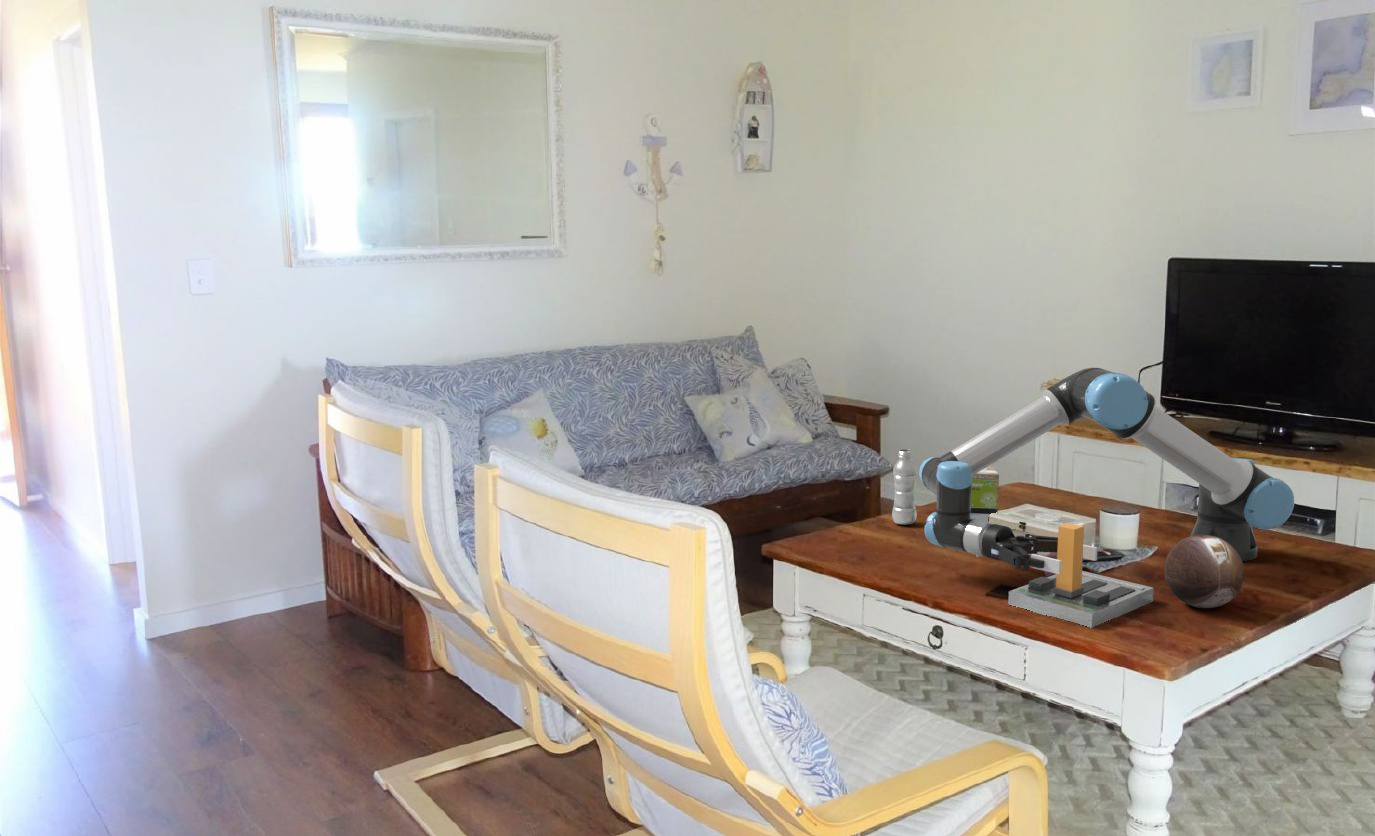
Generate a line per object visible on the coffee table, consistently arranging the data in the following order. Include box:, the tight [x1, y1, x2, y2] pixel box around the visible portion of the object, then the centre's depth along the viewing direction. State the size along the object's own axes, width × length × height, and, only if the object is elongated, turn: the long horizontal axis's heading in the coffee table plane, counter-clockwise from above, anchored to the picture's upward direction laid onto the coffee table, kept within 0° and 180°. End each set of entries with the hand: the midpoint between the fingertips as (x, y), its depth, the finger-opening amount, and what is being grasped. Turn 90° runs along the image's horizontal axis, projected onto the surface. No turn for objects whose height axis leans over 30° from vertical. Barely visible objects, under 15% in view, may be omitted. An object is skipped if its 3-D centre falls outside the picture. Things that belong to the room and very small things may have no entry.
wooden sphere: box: [1163, 535, 1245, 609], centre depth 235 cm, size 15×15×15 cm
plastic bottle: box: [891, 448, 918, 526], centre depth 303 cm, size 6×7×20 cm
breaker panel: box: [1007, 570, 1155, 629], centre depth 239 cm, size 24×19×5 cm
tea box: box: [970, 466, 1000, 522], centre depth 305 cm, size 15×10×15 cm, turn 81°
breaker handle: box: [1053, 522, 1085, 598], centre depth 234 cm, size 5×4×14 cm
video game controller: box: [1043, 552, 1057, 578], centre depth 260 cm, size 10×5×7 cm, turn 170°
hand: (1078, 560), depth 232 cm, fingers open, 13 cm apart
